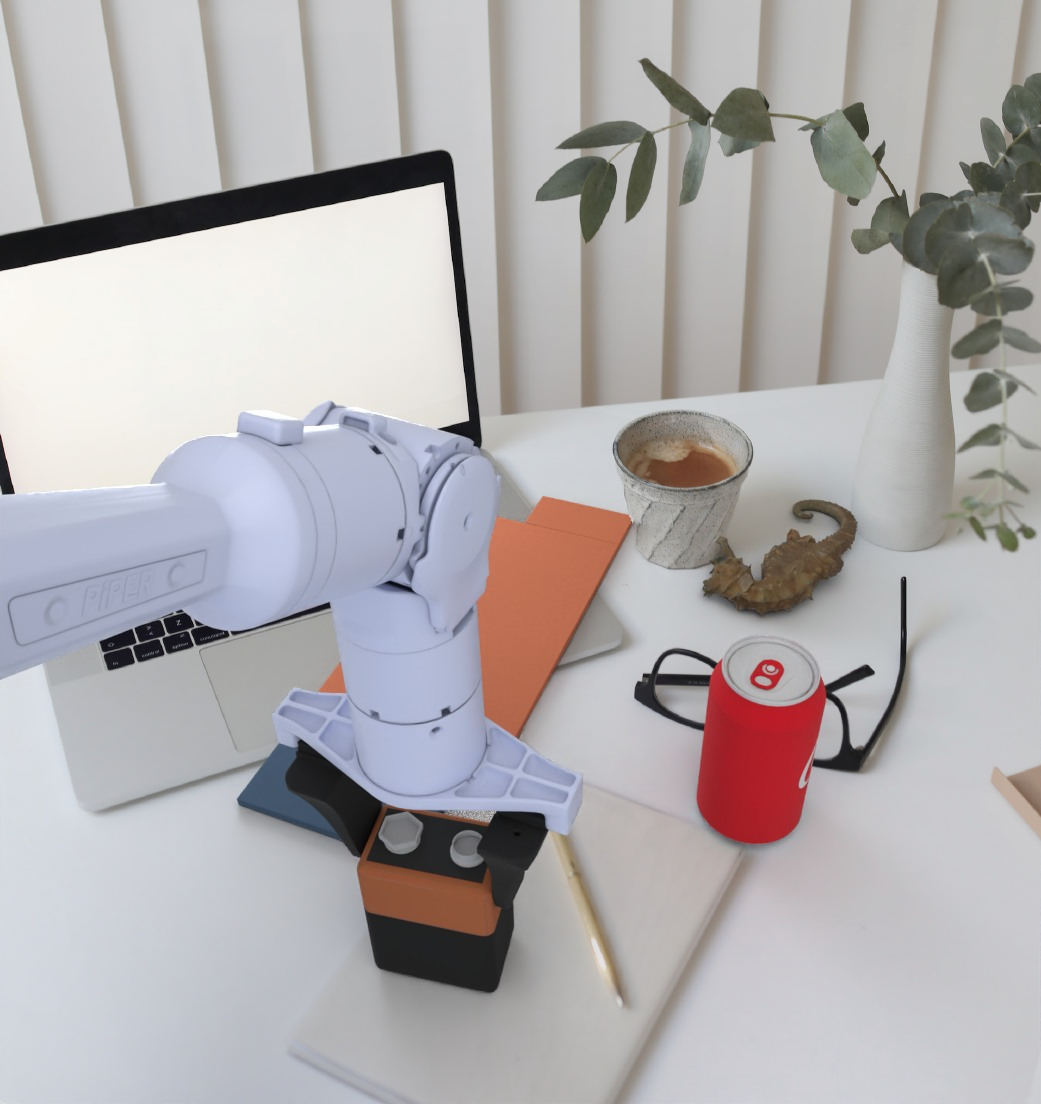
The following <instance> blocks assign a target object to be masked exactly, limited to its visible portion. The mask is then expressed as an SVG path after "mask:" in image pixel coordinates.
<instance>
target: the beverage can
mask: <svg viewBox="0 0 1041 1104" xmlns="http://www.w3.org/2000/svg"><path fill="white" fill-rule="evenodd" d="M821 673H822V672H821V667H820V665H819V662H818V661H817V659H816V657H815V655H814V654H812V652H811V651H810V650H809V649H807V648H806V647H805V646H804V645H802V644H800V643H799V642H796V641H794V640H793V639H790V638H787V637H784V636H781V635H776V634H775V635H774V634H753V635H749V636H745V637H743V638H740V639H738V640H736V641H735V642H733V643H732V644H731V645H729V647H727V649H726V650H725V652H724V654H723V656H722V658H721V659H720V660H719V661H718V662H717V664H716V665H715V666H714V668H713V670H712V673H711V675H710V679H709V686H708V694H707V695H708V696H707V701H706V709H705V710H706V711H705V720H704V728H703V736H702V746H701V753H700V762H699V769H698V770H699V771H698V779H697V787H696V804H697V808H698V810H699V812H700V814H701V816H702V818H703V819H704V821H705V822H706V823H707V824H708V825H709V826H710V828H712V829H713V830H714V831H715V832H717V833H718V834H720V835H721V836H723V837H725V838H727V839H729V840H731V841H734V842H737V843H741V844H745V845H746V844H747V845H767V844H771V843H775V842H778V841H780V840H782V839H784V838H785V837H787V836H788V835H790V834H791V833H792V832H793V831H794V830H795V829H796V827H797V826H798V824H799V822H800V820H801V818H802V815H803V814H802V813H803V808H804V803H805V800H806V795H807V791H808V785H809V781H810V778H811V777H810V776H811V773H812V767H813V763H814V758H815V754H816V750H817V744H818V740H819V735H820V730H821V727H822V726H821V725H822V722H823V716H824V712H825V707H826V703H827V691H826V685H825V682H824V680H823V677H822V676H821Z"/></svg>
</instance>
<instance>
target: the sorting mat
mask: <svg viewBox="0 0 1041 1104" xmlns="http://www.w3.org/2000/svg"><path fill="white" fill-rule="evenodd" d="M629 515H630V514H628V513H623V512H618V511H614V510H609V509H604V508H601V507H595V506H592V505H586V504H582V503H578V502H574V501H569V500H564V499H558V498H555V497H550V496H547V495H542V496H541V498H540V500H539V501H538V502H537V504H536V505H535V507H534V508H533V510H532V511H531V513H530V514H529V516H528V517H527V519H526V520H525V522H524V521H518V520H513V519H510V518H505V517H500V516H497V518H496V522H495V526H494V529H493V533H492V536H491V540H490V545H489V555H488V559H489V576H488V577H487V579H486V588H485V591H484V593H483V594H482V595H481V597H480V598H479V599H478V600H477V612H478V627H479V642H480V656H481V672H482V687H483V702H484V716H485V717H487V718H488V719H490V720H491V721H493V722H494V723H496V724H497V725H499V726H500V727H501V728H503V729H504V730H506V731H507V732H509V733H510V734H512V735H513V736H515V737H516V738H518V739H519V737H520V735H521V734H522V732H523V730H524V729H525V726H526V724H527V723H528V720H529V718H530V717H531V715H532V713H533V711H534V709H535V707H536V706H537V703H538V702H539V700H540V698H541V696H542V695H543V692H544V691H545V689H546V688H547V685H548V683H549V681H550V679H551V677H552V676H553V674H554V672H555V670H556V668H557V667H558V664H559V663H560V662H561V661H560V660H561V659H562V657H563V655H564V653H565V651H566V649H567V647H568V646H569V644H570V642H571V640H572V638H573V637H574V635H575V633H576V631H577V629H578V627H579V625H580V623H581V621H582V620H583V617H584V616H585V614H586V612H587V611H588V609H589V606H590V605H591V603H592V601H593V599H594V597H595V595H596V593H597V591H598V589H599V588H600V586H601V584H602V582H603V580H604V578H605V576H606V575H607V573H608V571H609V569H610V567H611V566H612V563H613V562H614V560H615V559H616V556H617V554H618V553H619V550H620V548H621V547H622V545H623V543H624V541H625V539H626V538H627V536H628V534H629V531H630V529H631V528H632V526H633V524H632V521H631V518H630V517H629ZM317 692H321V693H346V688H345V682H344V677H343V671H342V666H341V661H340V662H339V663H338V664H337V666H336V667H335V669H333V671H332V672H331V674H330V675H329V676H328V678H326V680H325V682H324V683H323V684H322V685H321V687H320V688H319V690H318V691H317ZM297 750H298V747H295V748H294V747H289V746H286V745H283V744H280V743H278V744H277V745H276V746H275V747H274V749H273V750H272V752H271V753H270V754H269V756H268V757H267V759H266V760H265V761H264V762H263V763H262V765H261V766H260V768H259V769H258V770H257V772H256V773H255V774H254V775H253V777H252V778H251V779H250V781H249V782H248V783H247V785H246V786H245V788H243V790H242V791H241V792H240V794H239V795H238V797H237V798H236V801H237V805H238V806H241V807H244V808H247V809H249V810H253V811H255V812H258V813H261V814H263V815H266V816H270V817H272V818H275V819H278V820H282V821H284V822H286V823H289V824H292V825H296V826H298V827H301V828H304V829H306V830H309V831H313V832H315V833H319V834H321V835H324V836H327V837H330V838H333V839H336V840H338V841H341V842H343V841H342V840H341V838H340V837H339V836H338V834H337V833H336V831H335V830H334V829H333V827H332V826H331V825H330V824H329V822H328V821H327V820H326V819H325V818H324V817H323V816H322V815H321V814H320V813H319V812H318V811H317V810H316V809H315V808H314V807H313V806H311V805H310V804H309V803H308V802H306V801H305V800H303V799H302V798H300V797H299V796H297V795H295V794H293V793H292V792H290V791H288V789H287V786H286V782H285V774H286V772H287V770H288V768H289V767H290V765H291V764H292V763H293V761H294V760H295V758H296V751H297ZM385 805H387V804H386V803H384V802H382V807H383V806H385ZM426 811H431V812H436V813H442V814H444V811H445V810H426Z"/></svg>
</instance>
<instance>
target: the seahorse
mask: <svg viewBox="0 0 1041 1104" xmlns="http://www.w3.org/2000/svg"><path fill="white" fill-rule="evenodd" d="M803 511H817V512H821V513H824V514H827V515H830V516H832V517H833V518H835V519H836V520H837V521H838V522H839V524H840V528H839V529H838V530H837V531H836V532H834V533H832V534H830V536H829V535H826V537H825V538H823V539H822V540H821V541H820V540H818V541H816V538H814V537H813V536H812V535H810V534H807V535H803V536H800V533H799V530H797V529H794V528H791V529H789V531H788V532H787V533H786V537H785V538H786V539H785V540H786V541H784V542H783V541H782V543H781V544H778V545H776V544H775V545H773V546H772V548H771V549H770V551H769V552H768V553H764V557H763V561H762V563H761V564H760V574H761V579H760V580H756V579H755V578H754V575H753V572H752V565H753V564H752V563H750V564H749V565H747V564H745V563H744V559H743V557H739V558H738V557H737V556H736V555H735V553H734V551H733V549H732V548H731V546H730V545H729V542H728V541H729V540H728V538H727V537H725V536H722V535H720V536H719V538H718V539H717V540H716V542H715V543H716V544H717V545H718V546H719V548H720V550H721V554H719V555H717V556H716V555H715V558H714V559H713V560H709V563H710V564H712V566H713V567H712V569H711V570H710V571H709V573H708V574H709V575H711V576H710V577H709V578H706V579H704V580H703V581H702V584H703V586H702V592H703V597H707V598H711V597H712V596H713V595H718V596H720V597H723V598H725V599H726V600H729V601H732V602H733V603H734V604H735V608H736V611H737V612H739V611H742V610H743V609H748V610H749V611H752V610H754V611H756V612H758V613H759V614H760V616H761V617H762V618H764V616H765V615H766V613H768V612H769V611H772V612H779V611H781V610H786V611H788V612H792V608H793V606H794V605H797V604H801V603H802V602H803V601H804V599H808V600H810V601H814V598H813V596H812V595H813V592H814V590H815V589H816V587H817V585H818V584H819V583H820V582H821V581H823V580H825V581H827V580H828V579H829V578H831V577H834V576H837V575H838V574H839V573H841V572H842V570H843V567H844V566H845V563H844V560H843V559H842V555H844V554H845V552H847V551H848V549H849V550H852V545H853V544H854V542H855V541H856V540H855V539H856V533H857V530H858V523H859V521H857V518H855V515H853V513H852V511H850V510H849V509H847V508H845V507H844V506H842V505H839V504H838V503H836V502H831V501H826V500H823V499H803V500H799V501H797V502H795V503H794V504H793V506H792V513H793V515H794V516H795V517H796V518H798V519H800V520H807V521H808V520H812V519H813V518H814V517H815V516H814V513H813V512H809V513H805V512H803Z"/></svg>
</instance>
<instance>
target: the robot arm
mask: <svg viewBox="0 0 1041 1104" xmlns="http://www.w3.org/2000/svg"><path fill="white" fill-rule="evenodd" d="M237 417H238V418H237V425H236V432H231V433H229V432H228V433H223V434H208V435H207V434H206V435H202V436H198V437H195V438H193V439H190V440H187V441H185V442H184V443H181V444H180V445H179V446H177V447H176V448H175V449H173V450H172V451H171V452H170V453H169V454H168V455H167V456H166V457H165V458H164V459H163V460H162V462H161V464H160V465H158V467H157V469H156V470H155V472H154V474H153V475H152V478H151V479H150V482H149V484H136V485H122V486H121V485H120V486H109V487H107V486H106V487H95V488H81V489H67V490H66V489H65V490H53V491H40V492H39V491H38V492H24V493H12V494H11V493H9V494H0V681H1V680H4V679H8V678H9V677H12V676H14V675H16V674H19V673H22V672H25V671H27V670H30V669H32V668H35V667H37V666H40V665H43V664H45V663H47V662H50V661H53V660H55V659H57V658H60V657H63V656H65V655H66V656H67V655H68V654H71V653H73V652H76V651H78V650H80V649H83V648H86V647H89V646H92V645H94V644H96V643H99V642H101V641H104V640H107V639H109V638H112V637H114V636H117V635H119V634H122V633H124V632H127V631H129V630H132V629H134V628H138V627H139V626H143V625H145V624H147V623H150V622H153V621H155V620H159V619H160V618H163V617H165V616H168V615H170V614H173V613H176V612H179V611H182V612H184V613H185V614H186V615H188V616H189V617H190V618H192V619H193V620H195V621H196V622H199V623H200V624H202V625H204V626H207V627H209V628H212V629H216V630H221V631H225V632H226V631H229V632H240V631H245V630H249V629H250V630H251V629H255V628H257V627H260V626H263V625H266V624H268V623H272V622H275V621H278V620H281V619H285V618H287V617H290V616H292V615H295V614H297V613H300V612H304V611H306V610H309V609H313V608H316V607H318V606H322V605H324V604H325V605H326V604H327V603H329V606H330V611H331V616H332V622H333V627H334V632H335V638H336V643H337V644H336V645H337V649H338V654H339V659H340V662H341V666H342V671H343V677H344V682H345V688H346V693H321V692H318V691H312V690H307V689H304V688H299V687H296V686H295V687H292V688H291V689H290V691H289V692H288V693H287V694H286V696H285V697H284V699H282V701H281V702H280V704H278V706H277V707H276V709H274V711H273V713H272V714H271V719H272V724H273V728H274V732H275V734H276V735H275V736H276V740H277V743H278V744H279V743H280V744H283V745H286V746H289V747H294V748H295V747H298V750H297V751H296V758H295V760H294V761H293V763H292V764H291V765H290V767H289V768H288V770H287V772H286V774H285V782H286V786H287V789H288V791H290V792H292V793H293V794H295V795H297V796H299V797H300V798H302V799H303V800H305V801H306V802H308V803H309V804H310V805H311V806H313V807H314V808H315V809H316V810H317V811H318V812H319V813H320V814H321V815H322V816H323V817H324V818H325V819H326V820H327V821H328V822H329V824H330V825H331V826H332V827H333V829H334V830H335V831H336V833H337V834H338V836H339V837H340V838H341V840H342V841H341V840H340V841H341V842H342V843H343V844H344V846H345V847H346V849H347V850H348V851H349V853H351V855H352V856H353V857H355V858H358V859H360V858H361V856H362V853H363V851H364V849H365V846H366V844H367V841H368V839H369V837H370V834H371V832H372V829H373V827H374V825H375V822H376V820H377V818H378V815H379V813H380V811H381V809H382V802H384V803H386V804H388V805H391V806H394V807H398V808H403V809H412V810H444V811H460V812H461V811H464V812H465V811H467V812H495V813H494V814H493V815H492V817H491V820H490V821H489V822H490V823H489V825H488V827H487V829H486V831H485V833H484V835H483V836H482V838H481V840H480V842H479V844H478V846H477V854H479V855H480V856H481V857H482V858H483V859H484V861H485V862H486V864H487V866H488V869H489V871H490V875H491V880H492V898H493V902H494V904H495V906H497V907H500V908H503V909H506V910H508V909H510V907H511V905H512V903H513V904H514V902H515V901H514V900H515V899H516V897H517V894H518V893H519V890H520V887H521V886H522V883H523V882H524V879H525V873H526V871H528V870H529V869H530V867H531V866H532V865H533V863H534V861H535V860H536V858H537V856H538V855H539V852H540V850H541V848H542V846H543V845H544V843H545V840H546V837H547V835H548V833H549V831H550V832H554V833H556V834H559V835H563V836H566V837H567V836H568V835H569V833H570V831H571V829H572V827H573V825H574V822H575V821H576V819H577V816H578V813H579V811H580V809H581V807H582V804H583V791H584V789H583V788H584V787H583V786H584V774H582V773H581V772H577V771H575V770H572V769H569V768H566V767H564V766H562V765H559V764H558V763H555V762H554V761H552V760H551V759H549V758H547V757H545V756H544V755H542V754H541V753H540V752H538V751H537V750H535V749H534V748H532V747H531V746H530V745H528V744H526V743H525V742H524V741H522V740H520V739H519V737H518V738H516V737H515V736H513V735H512V734H510V733H509V732H507V731H506V730H504V729H503V728H501V727H500V726H499V725H497V724H496V723H494V722H493V721H491V720H490V719H488V718H487V717H485V716H484V702H483V687H482V672H481V656H480V642H479V627H478V612H477V600H478V599H479V598H480V597H481V595H482V594H483V593H484V591H485V588H486V579H487V577H488V576H489V559H488V555H489V545H490V540H491V536H492V533H493V529H494V526H495V522H496V518H497V517H498V514H499V510H500V509H499V508H500V502H501V495H502V475H501V474H497V475H496V471H495V468H494V466H493V464H492V463H491V461H490V460H489V459H488V458H486V457H485V456H482V454H481V450H480V449H479V446H475V445H474V444H475V441H473V440H472V439H471V438H469V437H466V436H463V435H459V434H456V433H452V432H448V431H445V430H441V429H437V428H434V427H430V426H426V425H423V424H419V423H415V422H412V421H408V420H404V419H401V418H397V417H393V416H390V415H386V414H382V413H378V412H375V411H372V410H369V409H368V410H367V409H363V408H360V407H356V406H355V407H354V406H353V407H347V406H344V405H340V404H336V403H335V402H334V401H333V400H325V401H323V402H321V403H320V404H318V405H316V406H315V407H314V408H313V409H311V410H310V411H309V412H307V414H306V415H305V416H304V417H303V418H302V419H298V418H295V417H292V416H288V415H284V414H281V413H277V412H274V411H270V410H267V409H261V410H245V411H242V412H240V413H239V414H238V416H237Z"/></svg>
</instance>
